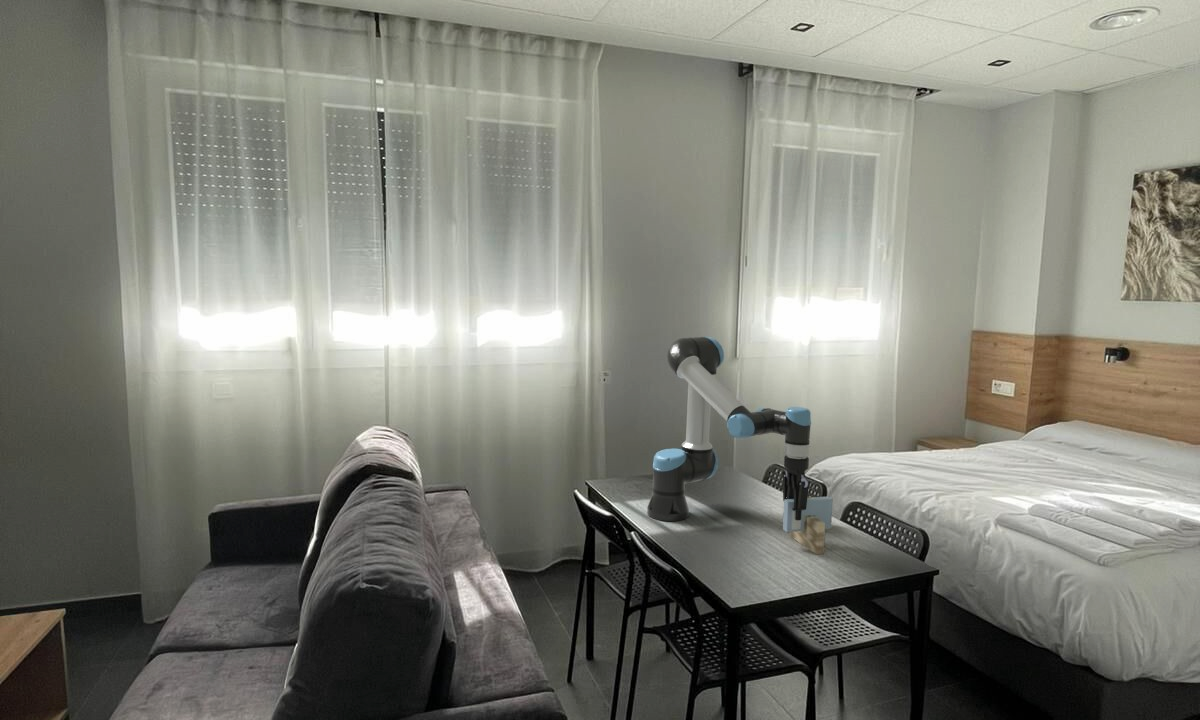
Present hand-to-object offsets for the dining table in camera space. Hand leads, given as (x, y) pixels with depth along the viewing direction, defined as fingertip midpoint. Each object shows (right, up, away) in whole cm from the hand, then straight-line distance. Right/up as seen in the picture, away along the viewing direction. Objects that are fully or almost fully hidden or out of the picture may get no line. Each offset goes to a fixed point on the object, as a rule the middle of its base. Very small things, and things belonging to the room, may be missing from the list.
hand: (793, 527), depth 210 cm
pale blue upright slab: (+5, -1, +1) cm, 5 cm away
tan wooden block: (+5, -6, +2) cm, 8 cm away
